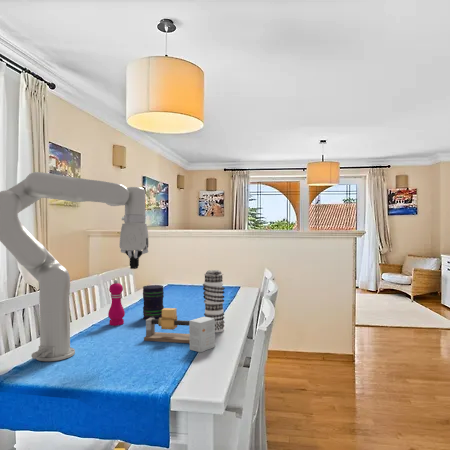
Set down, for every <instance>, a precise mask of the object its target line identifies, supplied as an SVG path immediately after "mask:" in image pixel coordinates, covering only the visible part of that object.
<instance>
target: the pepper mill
mask: <svg viewBox="0 0 450 450" xmlns="http://www.w3.org/2000/svg"><path fill="white" fill-rule="evenodd" d="M123 290H124V287H123V285H122V284H121V283H120V282H119V280H118V279H114V281H113V283H112V284H110V286H109V289H108V291H109V293H110V298H111V305H110V307H109V309H108V313H107V314H108V315H107V317H108V318H109V319H110V320H109V324H108V325H110V326H115V327H116V326H122V325H124V324H125V320H124V319H123V318H124V317H125V314H126V313H125V310H124V307H123V304H122V297H123V296H122V295H123V293H122V292H123Z"/></svg>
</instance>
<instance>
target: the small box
mask: <svg viewBox="0 0 450 450" xmlns="http://www.w3.org/2000/svg"><path fill="white" fill-rule="evenodd" d="M188 321H189V326H188V327H189V330H188V331H189V333H188V334H190V343H189V350H191V351H195V352H198V353H203V352H205V351H209V350H211V349H212V348H215V347H216V332H215V319H214V318H209V317H205V316H201V317H198V318H194V319H191V320H188Z"/></svg>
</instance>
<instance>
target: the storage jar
mask: <svg viewBox="0 0 450 450" xmlns="http://www.w3.org/2000/svg"><path fill="white" fill-rule="evenodd" d="M164 294H165V293H164V286H163V285H160V284H151V285H150V284H148V285H144V286H142V299H143V307H142V315H143V320H145V321H146V320H147V319H148V318H155V319H159V318H162V309H164V308H165V307H164Z"/></svg>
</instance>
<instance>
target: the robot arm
mask: <svg viewBox="0 0 450 450" xmlns="http://www.w3.org/2000/svg"><path fill="white" fill-rule="evenodd" d="M42 198H45V199H50V200H52V199H53V200H59V201H66V202H72V203H73V202H75V203H81V202H84V203H85V202H93V203H103V204H106V205H108V206H110V207H119V206H124V216H122V217H121V221H123V222H124V223H122V224H121V228H120V233H119V249H120V253H123V254H126V255H127V257H128V259H129V269H131V270H138V268H139V263H140V258H141V256H143V255H144V254H149V249H148V248H149V245H150V244H149V229H148V226H147V223H146V190H145V188H143V187H141V186H139V187H138V186H129V187H126V186H125V185H123V184H120V183H115V182H110V181H104V180H103V181H102V180H95V179H87V178H80V177H74V176H66V175H60V174H54V173H49V172H41V171H33V172H31V173H29V174H28V175H27V176H26V177H25V178H24V179H23V180H22V181H20V182H19V183H17V184H15V185H13V186H11V187H10V188H8V189H7V190H1V191H0V242H1V244H2V245H3V246H4V247H5V248H6V249H7V250H8V252H10V253H11V255H13V256H14V258H15V259H16V262H18V263H19V265H21V266H22V267H23V268H24V269H25V270H26V271H27V272H28V273H29V274H30V275H31V276H32V277H33V278H34V279H35V280H36V281H38V283H39V284H38V285H39V297H38V298H39V300H38V301H39V303H38V304H39V306H38V307H39V345H38V350H37V351H35V352H33V353H31V358H32V359H33V360H37V361H40V362H58V361H61V360H66V359H69V358H71V357H73V356H74V355H75V354H76V350H75V348H74V347H71V328H70V327H71V321H70V320H71V319H70V318H71V314H70V313H71V311H70V293H71V292H70V289H71V276H70V273H69V270H68V269H67V268H66V267H65V266H63V265H62V264H61V263H60V262H59V261H58V260H57V259H56V258H55V256H53V255H52V253H50V252H49V250H48V249H47V248H46V247H45V245H44V244H43V243H42V242H41V241H38V240H37V238H35V237H34V235H33V234H31V232H30V231H29V230H28V229H27V228H26V227H25V226H24V224H23V223H22V222H21V221H20V219H19V216H18V215H19V213H20V212H22V211H23V210H25V209H26V208H29V207H30V206H32V205H33V204H35V203H36V202H38V201H40V200H41V199H42Z"/></svg>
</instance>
